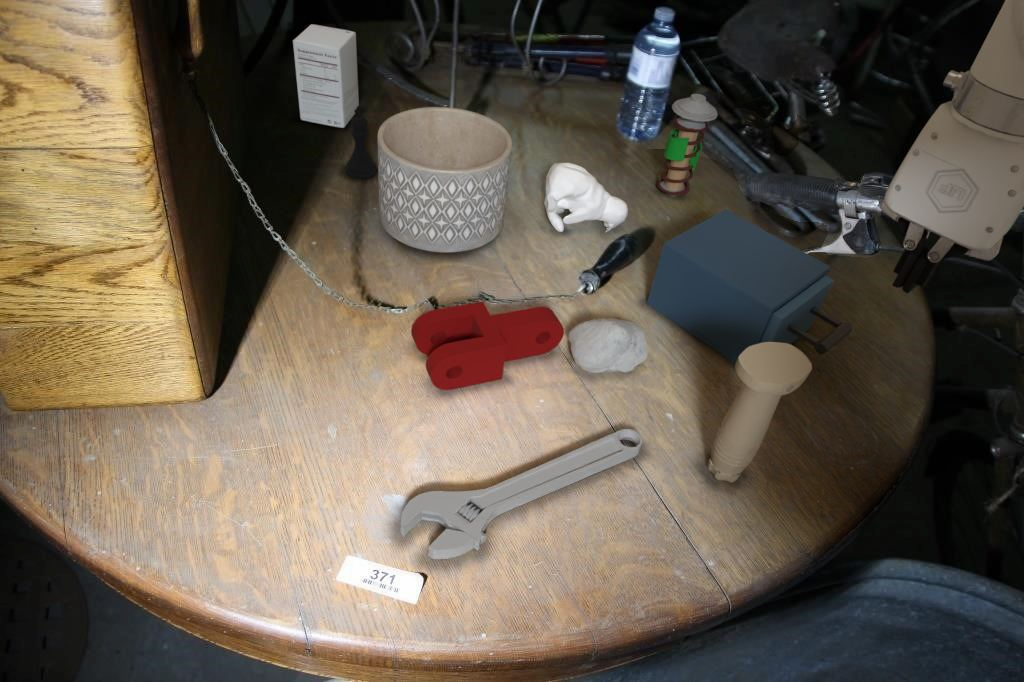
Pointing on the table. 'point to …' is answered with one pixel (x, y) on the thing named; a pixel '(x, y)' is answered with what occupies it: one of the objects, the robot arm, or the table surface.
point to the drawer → (806, 319)
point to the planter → (443, 178)
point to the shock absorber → (685, 143)
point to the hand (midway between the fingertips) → (906, 284)
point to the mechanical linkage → (481, 341)
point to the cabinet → (729, 281)
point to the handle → (755, 404)
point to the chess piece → (360, 150)
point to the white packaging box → (326, 75)
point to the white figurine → (580, 198)
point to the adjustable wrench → (509, 494)
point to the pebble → (608, 345)
